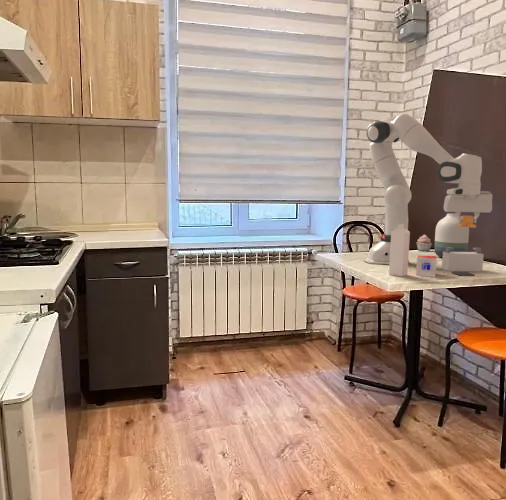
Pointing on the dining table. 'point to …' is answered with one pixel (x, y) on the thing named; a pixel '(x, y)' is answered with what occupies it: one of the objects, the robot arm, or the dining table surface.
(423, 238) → the cupcake
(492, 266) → the dining table surface
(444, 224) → the vase
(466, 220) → the cap
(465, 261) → the white rectangular block
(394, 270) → the milk
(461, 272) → the mat
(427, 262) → the white printed cube
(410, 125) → the robot arm
